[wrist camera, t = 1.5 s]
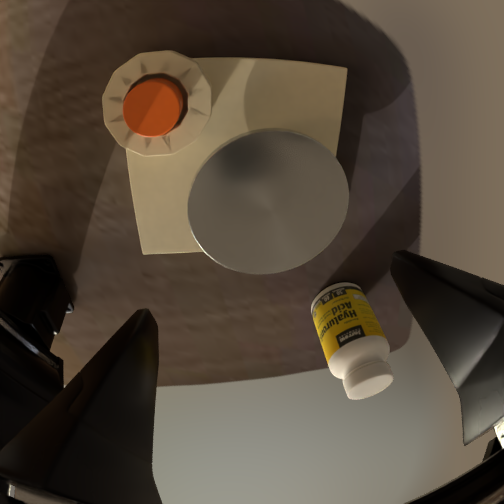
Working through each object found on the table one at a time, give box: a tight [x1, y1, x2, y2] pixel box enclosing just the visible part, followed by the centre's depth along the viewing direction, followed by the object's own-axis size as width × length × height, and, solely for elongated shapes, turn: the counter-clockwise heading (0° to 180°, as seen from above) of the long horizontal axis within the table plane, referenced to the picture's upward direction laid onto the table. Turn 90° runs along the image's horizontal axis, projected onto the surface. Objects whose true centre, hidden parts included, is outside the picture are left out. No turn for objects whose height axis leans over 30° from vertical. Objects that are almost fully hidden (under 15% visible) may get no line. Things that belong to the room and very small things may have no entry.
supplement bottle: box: [311, 282, 394, 400], centre depth 25 cm, size 5×5×10 cm
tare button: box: [123, 78, 183, 137], centre depth 13 cm, size 3×3×2 cm
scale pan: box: [187, 128, 349, 274], centre depth 18 cm, size 10×10×1 cm
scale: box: [102, 50, 347, 254], centre depth 18 cm, size 14×14×3 cm
